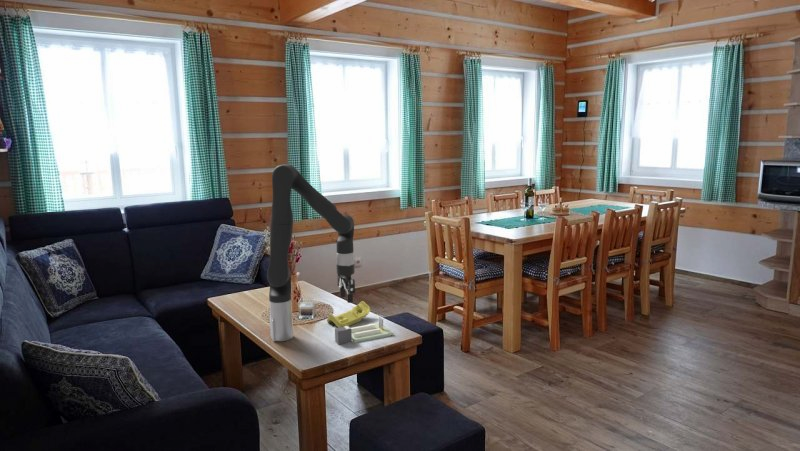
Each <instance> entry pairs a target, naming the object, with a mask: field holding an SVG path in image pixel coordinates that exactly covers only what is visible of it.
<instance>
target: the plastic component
mask: <svg viewBox="0 0 800 451" xmlns="http://www.w3.org/2000/svg"><path fill="white" fill-rule="evenodd" d="M370 312H371V307H370V306H369V304H367V303H366V302H365V301H364V300H362V301H360V302H359V303H358V304H356V305H355V306H353V307H352V308H351V310H348V311H345V312H342V313H340V314H337V315H336V316H335V315H333V313H330V314H328V317H327V318H326V322H327V323H328V324H331V323H334V325H335V327H336V328H340V327H344V326H349V327H350V326H352V325H355V324H357V323H359V322H360V321H361V320H362V319H364V318H366V317H367V316H368V315H369V314H370Z"/></svg>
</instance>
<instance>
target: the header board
mask: <svg viewBox="0 0 800 451" xmlns="http://www.w3.org/2000/svg"><path fill="white" fill-rule="evenodd" d="M350 328H351V333H352V342H353V343H359V342H365V341H370V340H375V339H381V338H386V337H390V336H391V335H392V336H394V331H392V330H391V329H390V328H388V327H387V326H386V325H384V318H382V317H381V316H378V323H376V324H374V323H371V324H370V323H369V324H364V325H359V326H354V327H350Z"/></svg>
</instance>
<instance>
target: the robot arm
mask: <svg viewBox="0 0 800 451" xmlns="http://www.w3.org/2000/svg"><path fill="white" fill-rule="evenodd" d="M271 184H272V185H271V186H272V187H271V188H272V200H271V201H272V204H271V213H270V223H269V224H270V225H269V228H270V229H269V252H270V253H269V262H268V268H267V272H266V279H267V282H268V283H269V293H268V300H269V314H270V315H269V318H268V319H269V334H270V338H271V340H272V341H273V342H285V341H290V340H291V339H293V338H294V326H293V322H294V321H293V307H292V306H293V305H292V272H291V268H290V266H289V264H288V262H289V261H288V256H289V251H290V248H291V242H292V238H293V232H294V231H293V229H294V215H293V209H292V203H291V193H292V190H294V191H295V192H296V193H297V194H299V195H300V196H301V197H302V198H303V200H304V201H305V202H306V203H307V205H308V206H309V207H311V209H313V211H315V213H317V214H318V215H319V216H321V217H322V218H323V219H324V220H326V222H327V223H328V224H329V225H330V226H331V228H332V229H333V230H334V231H336V232H337V235H338V236H337V240H336V260H335V261H336V274H337V287H338V289H339V297H340V298H345V297H346V296H347V297H346V298H347V303H349V304H352V303H353V302H354V295H353V294H356V284H355V282H356V280H355V279H353V278H352V275H354V274H355V253H354V234H355V221H354V218H353V217H352V216H351V215H349V214H342V213H341V212H340V211H339V210H338V209H337V206H336V205H335V204H334V203H333V202H331V200H329V199H328V198H326V196H324V195H323V194H322V193H320V191H318V190H317V189H316V188H315V187H313V185H311V184H310V183H309V182H308V181H307V180H306V179H305V178H304V175H302V174H301V173H300V172H299V171H298V170H297V168H296V167H295V166H293V165H291V164H289V163H287V164H286V163H285V164H279V165H277V166H276V167H275V168H274V169H273V171H272V174H271Z"/></svg>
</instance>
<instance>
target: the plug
mask: <svg viewBox="0 0 800 451" xmlns="http://www.w3.org/2000/svg"><path fill="white" fill-rule="evenodd" d="M351 328H352V327H350V326H344V327H340V328H339V327H335V328H334V342H335V344H337V345H338V346H340V345H346V344H351V343H353V340H352V333H351Z"/></svg>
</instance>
